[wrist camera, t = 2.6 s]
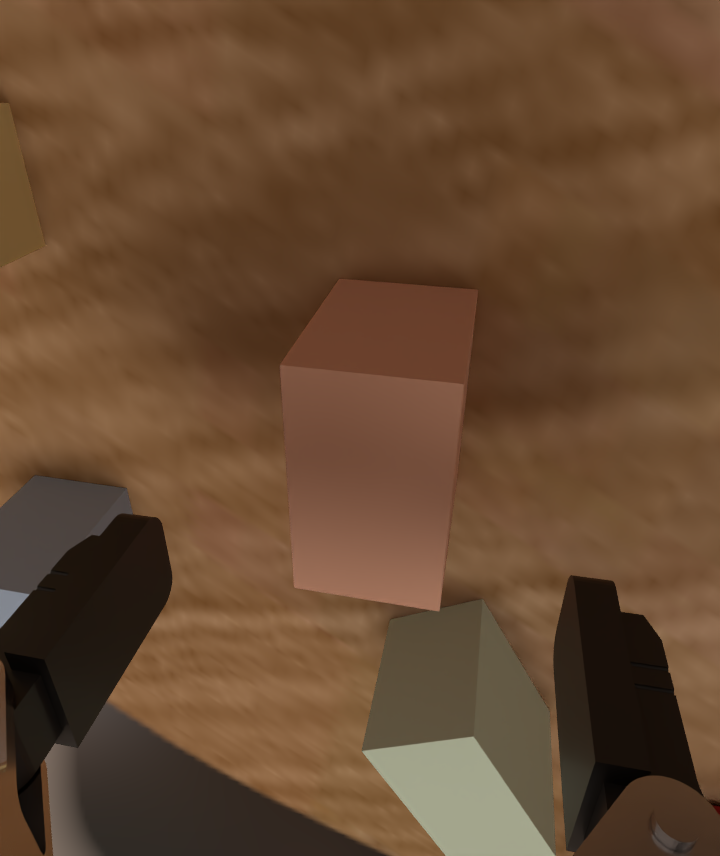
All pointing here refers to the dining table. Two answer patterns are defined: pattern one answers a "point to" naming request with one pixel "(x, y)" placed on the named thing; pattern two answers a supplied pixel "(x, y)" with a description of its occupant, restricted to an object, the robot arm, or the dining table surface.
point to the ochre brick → (15, 197)
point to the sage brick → (463, 734)
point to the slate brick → (49, 530)
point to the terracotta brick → (376, 438)
